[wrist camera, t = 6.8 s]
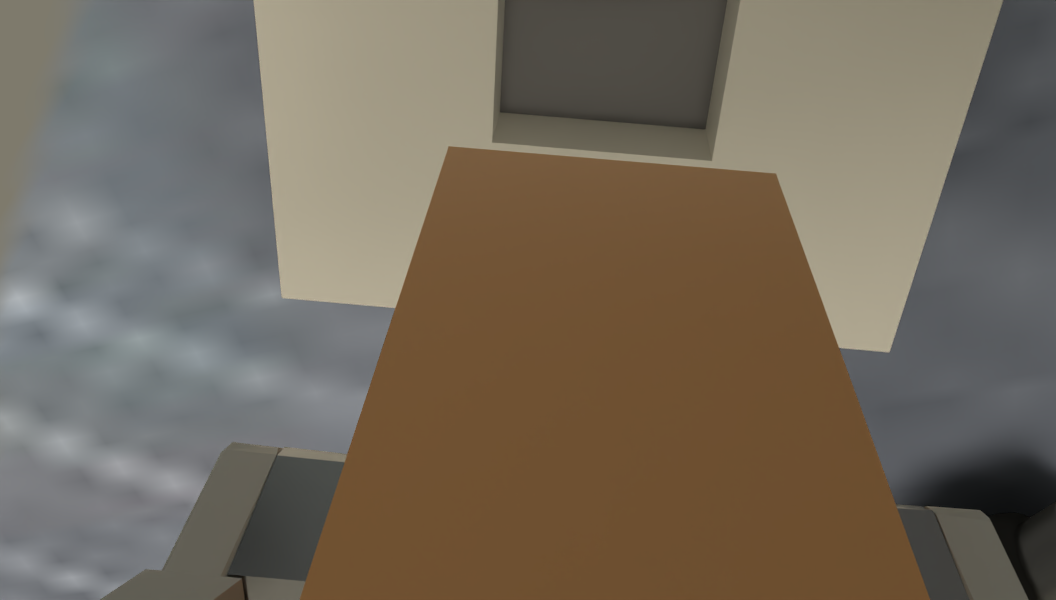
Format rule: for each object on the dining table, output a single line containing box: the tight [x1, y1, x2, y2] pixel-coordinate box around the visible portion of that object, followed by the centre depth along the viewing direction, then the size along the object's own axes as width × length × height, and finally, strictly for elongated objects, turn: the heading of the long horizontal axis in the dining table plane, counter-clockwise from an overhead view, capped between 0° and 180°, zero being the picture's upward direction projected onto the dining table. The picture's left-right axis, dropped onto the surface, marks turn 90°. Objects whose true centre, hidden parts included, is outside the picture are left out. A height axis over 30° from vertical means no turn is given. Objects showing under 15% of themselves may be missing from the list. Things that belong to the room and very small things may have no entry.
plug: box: [300, 146, 930, 600], centre depth 9 cm, size 4×4×10 cm
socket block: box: [254, 0, 1003, 352], centre depth 24 cm, size 17×16×4 cm
